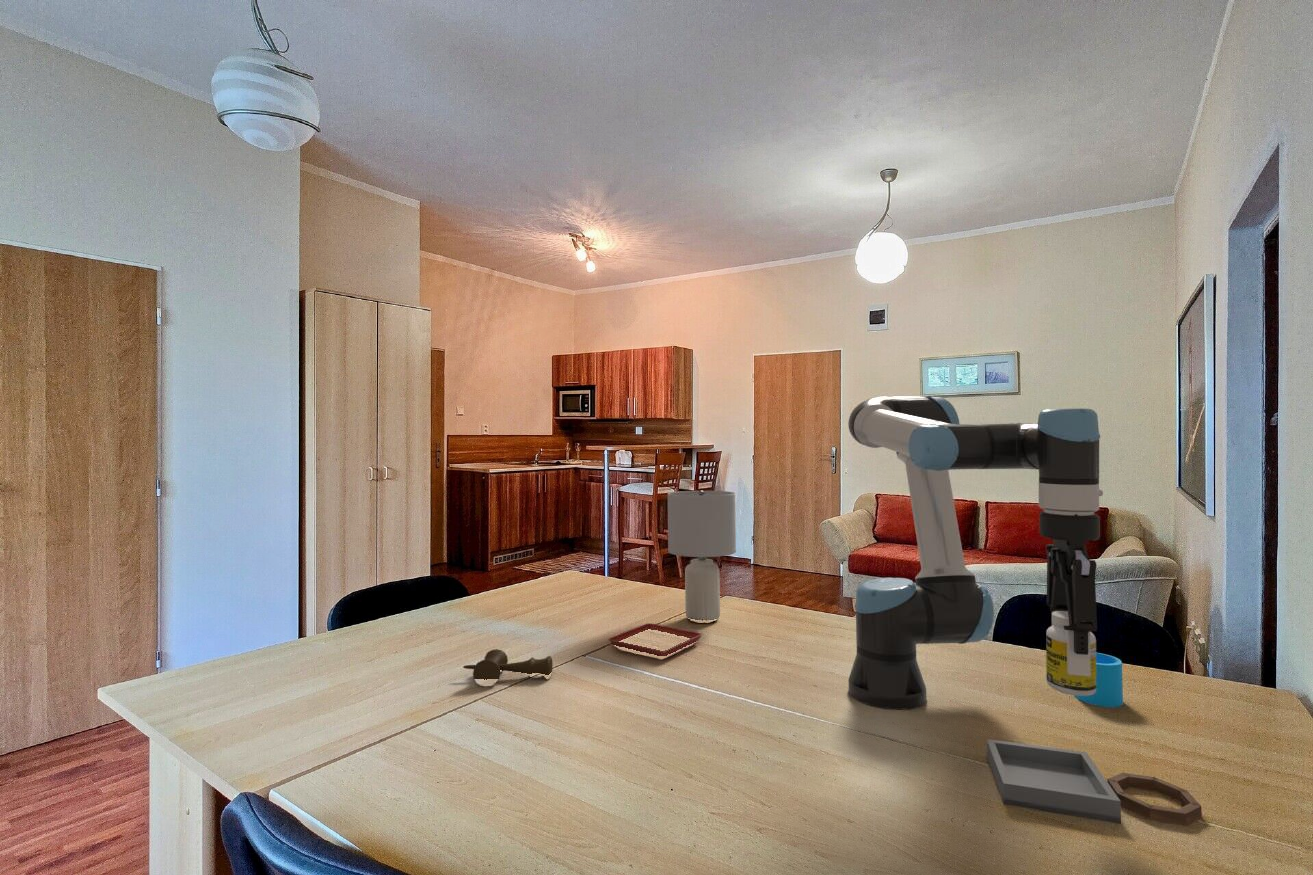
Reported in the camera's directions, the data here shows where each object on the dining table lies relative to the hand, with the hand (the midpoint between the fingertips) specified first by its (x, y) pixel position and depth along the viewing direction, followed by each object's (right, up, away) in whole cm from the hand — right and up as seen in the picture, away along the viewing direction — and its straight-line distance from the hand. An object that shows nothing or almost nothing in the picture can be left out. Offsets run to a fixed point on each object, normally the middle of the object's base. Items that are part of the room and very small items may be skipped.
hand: (1070, 665), depth 91 cm
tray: (-3, -18, 0) cm, 19 cm away
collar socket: (+9, -18, -4) cm, 21 cm away
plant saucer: (-62, -21, +67) cm, 94 cm away
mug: (+28, -19, +34) cm, 48 cm away
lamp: (-48, -21, +92) cm, 106 cm away
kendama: (-96, -21, +46) cm, 108 cm away
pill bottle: (0, -4, 0) cm, 4 cm away
